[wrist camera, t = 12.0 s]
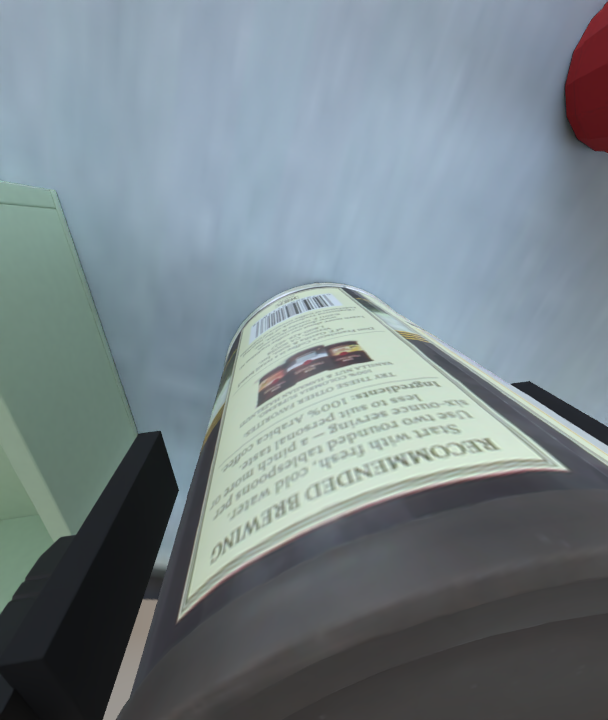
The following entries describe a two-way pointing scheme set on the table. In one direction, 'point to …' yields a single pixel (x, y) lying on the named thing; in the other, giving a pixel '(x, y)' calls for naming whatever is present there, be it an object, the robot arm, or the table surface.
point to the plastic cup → (590, 85)
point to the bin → (50, 386)
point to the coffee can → (379, 536)
